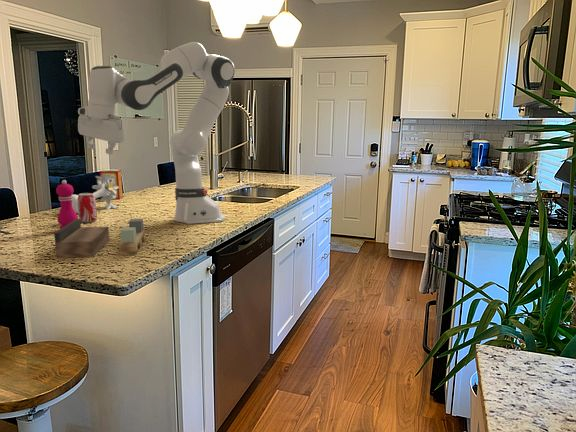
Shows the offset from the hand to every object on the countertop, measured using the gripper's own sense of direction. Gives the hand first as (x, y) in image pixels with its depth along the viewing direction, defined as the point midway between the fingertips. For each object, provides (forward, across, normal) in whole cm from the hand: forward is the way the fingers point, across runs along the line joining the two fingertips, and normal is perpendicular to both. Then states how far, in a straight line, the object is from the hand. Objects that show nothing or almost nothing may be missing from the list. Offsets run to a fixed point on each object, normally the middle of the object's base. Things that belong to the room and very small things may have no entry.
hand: (100, 151), depth 159 cm
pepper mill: (+34, +14, +2) cm, 37 cm away
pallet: (+28, -25, +6) cm, 38 cm away
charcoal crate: (+25, -21, 0) cm, 32 cm away
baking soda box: (+39, +58, -57) cm, 90 cm away
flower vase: (+37, +38, -29) cm, 61 cm away
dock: (+30, -12, +15) cm, 36 cm away
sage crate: (+24, -28, +11) cm, 39 cm away
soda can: (+35, +21, -12) cm, 42 cm away
